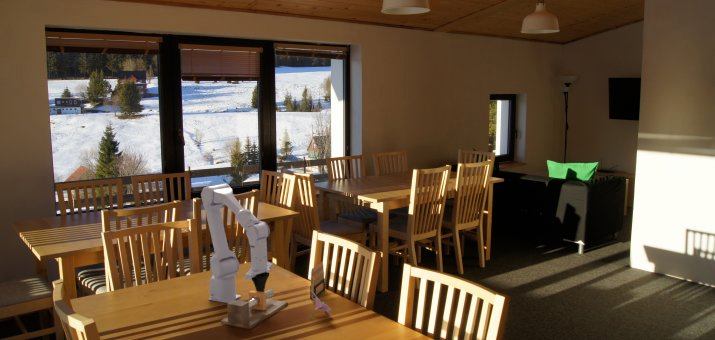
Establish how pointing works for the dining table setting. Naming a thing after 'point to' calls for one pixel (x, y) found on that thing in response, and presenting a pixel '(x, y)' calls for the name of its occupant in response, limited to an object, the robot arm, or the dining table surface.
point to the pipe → (256, 300)
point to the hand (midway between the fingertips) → (260, 292)
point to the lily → (320, 305)
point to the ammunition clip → (317, 281)
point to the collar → (262, 299)
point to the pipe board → (250, 313)
